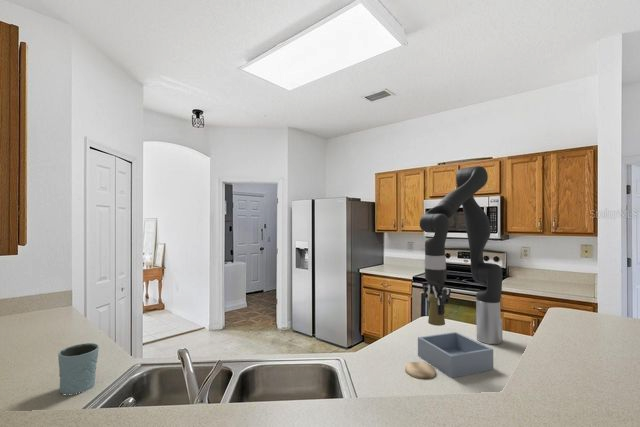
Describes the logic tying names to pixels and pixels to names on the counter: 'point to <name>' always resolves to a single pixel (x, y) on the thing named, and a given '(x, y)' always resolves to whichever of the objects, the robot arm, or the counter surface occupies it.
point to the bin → (455, 354)
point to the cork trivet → (420, 370)
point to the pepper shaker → (435, 312)
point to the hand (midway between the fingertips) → (436, 312)
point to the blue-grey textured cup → (77, 368)
